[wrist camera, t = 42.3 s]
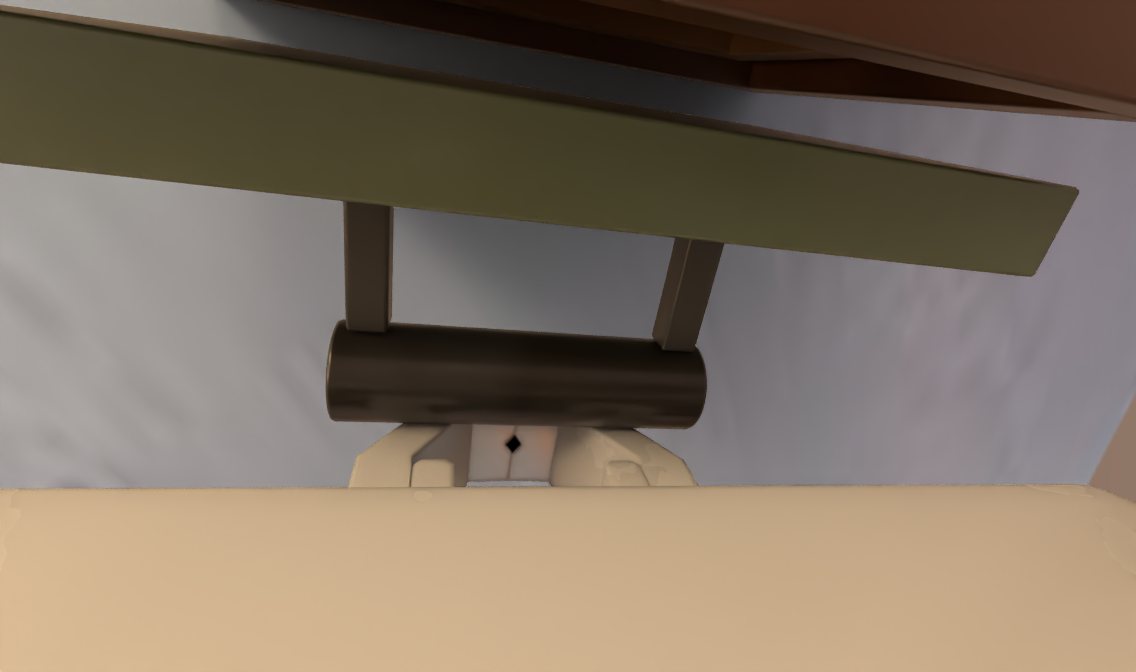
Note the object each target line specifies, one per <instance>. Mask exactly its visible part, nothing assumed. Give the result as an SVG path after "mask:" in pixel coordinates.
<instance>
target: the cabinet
mask: <svg viewBox="0 0 1136 672" xmlns="http://www.w3.org/2000/svg"><path fill="white" fill-rule="evenodd" d="M261 1H266V2H272V3H277V4H282V5H288V6H293V7H299V8H304V9H309V10H315V11H320V12H326V13H331V14H336V15H342V16H347V17H353V18H358V19H364V20H369V21H374V22H380V23H385V24H391V25H396V26H401V27H407V28H412V29H418V30H423V31H428V32H434V33H439V34H445V35H450V36H455V37H461V38H466V39H472V40H477V41H482V42H488V43H493V44H499V45H504V46H509V47H515V48H520V49H526V50H531V51H537V52H542V53H547V54H553V55H558V56H564V57H569V58H574V59H580V60H585V61H591V62H596V63H601V64H607V65H612V66H618V67H623V68H628V69H634V70H639V71H645V72H650V73H655V74H661V75H666V76H672V77H677V78H682V79H688V80H693V81H699V82H704V83H709V84H715V85H720V86H726V87H731V88H737V89H742V90H747V91H753V92H758V93H770V94H784V95H797V96H810V97H823V98H835V99H848V100H861V101H874V102H886V103H899V104H912V105H925V106H938V107H950V108H963V109H976V110H989V111H1001V112H1014V113H1027V114H1040V115H1052V116H1065V117H1078V118H1091V119H1104V120H1116V121H1129V122H1136V0H580V1H584V2H589V3H594V4H599V5H603V6H608V7H613V8H618V9H622V10H627V11H632V12H637V13H641V14H646V15H651V16H655V17H660V18H665V19H670V20H674V21H679V22H684V23H689V24H693V25H698V26H703V27H708V28H712V29H717V30H722V31H727V32H731V33H736V34H741V35H746V36H750V37H755V38H760V39H764V40H769V41H774V42H779V43H783V44H788V45H793V46H798V47H802V48H807V49H812V50H817V51H821V52H826V53H831V54H836V55H840V56H845V57H850V58H844V59H807V60H770V61H755V60H752V61H738V60H733V59H728V58H722V57H717V56H712V55H707V54H702V53H697V52H692V51H687V50H682V49H677V48H672V47H667V46H662V45H657V44H652V43H647V42H642V41H637V40H632V39H627V38H622V37H617V36H612V35H607V34H602V33H596V32H591V31H586V30H581V29H576V28H571V27H566V26H561V25H556V24H551V23H546V22H541V21H536V20H531V19H526V18H521V17H516V16H511V15H506V14H501V13H496V12H491V11H486V10H481V9H475V8H470V7H465V6H460V5H455V4H450V3H445V2H440V1H435V0H261Z"/></svg>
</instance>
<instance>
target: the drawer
mask: <svg viewBox="0 0 1136 672" xmlns="http://www.w3.org/2000/svg"><path fill="white" fill-rule="evenodd" d="M435 1H440V2H445V3H450V4H455V5H460V6H465V7H470V8H475V9H481V10H486V11H491V12H496V13H501V14H506V15H511V16H516V17H521V18H526V19H531V20H536V21H541V22H546V23H551V24H556V25H561V26H566V27H571V28H576V29H581V30H586V31H591V32H596V33H602V34H607V35H612V36H617V37H622V38H627V39H632V40H637V41H642V42H647V43H652V44H657V45H662V46H667V47H672V48H677V49H682V50H687V51H692V52H697V53H702V54H707V55H712V56H717V57H722V58H728V59H733V60H738V61H752V60H755V61H770V60H807V59H844V58H850V57H845V56H840V55H836V54H831V53H826V52H821V51H817V50H812V49H807V48H802V47H798V46H793V45H788V44H783V43H779V42H774V41H769V40H764V39H760V38H755V37H750V36H746V35H741V34H736V33H731V32H727V31H722V30H717V29H712V28H708V27H703V26H698V25H693V24H689V23H684V22H679V21H674V20H670V19H665V18H660V17H655V16H651V15H646V14H641V13H637V12H632V11H627V10H622V9H618V8H613V7H608V6H603V5H599V4H594V3H589V2H584V1H580V0H435ZM0 163H5V164H14V165H23V166H32V167H41V168H50V169H59V170H68V171H77V172H86V173H95V174H104V175H113V176H122V177H131V178H140V179H149V180H159V181H168V182H177V183H186V184H195V185H204V186H213V187H222V188H231V189H240V190H249V191H258V192H267V193H276V194H285V195H294V196H303V197H312V198H321V199H330V200H339V201H343V207H344V258H345V309H346V319H343V320H340V321H338V322H337V324H336V326H335V328H334V331H333V334H332V337H331V341H330V346H329V352H328V359H327V369H326V403H327V410H328V413H329V416H330V418H331V419H332V420H334V421H342V422H386V423H431V424H475V425H519V426H563V427H607V428H651V429H688V428H690V427H692V426H693V425H695V424H696V422H697V421H698V419H699V418H700V416H701V414H702V411H703V408H704V404H705V399H706V390H707V378H706V369H705V364H704V360H703V357H702V355H701V353H700V351H699V349H698V348H697V347H696V346H695V345H696V342H697V338H698V335H699V331H700V327H701V324H702V320H703V317H704V313H705V310H706V306H707V303H708V299H709V296H710V292H711V289H712V285H713V282H714V278H715V275H716V271H717V268H718V264H719V261H720V257H721V253H722V250H723V246H724V243H727V244H736V245H745V246H754V247H763V248H772V249H781V250H790V251H799V252H808V253H817V254H826V255H835V256H844V257H853V258H862V259H871V260H880V261H889V262H898V263H907V264H916V265H925V266H934V267H943V268H952V269H961V270H970V271H979V272H988V273H997V274H1006V275H1015V276H1024V277H1031V276H1033V275H1034V274H1035V273H1036V271H1037V269H1038V267H1039V266H1040V264H1041V262H1042V260H1043V258H1044V256H1045V254H1046V253H1047V251H1048V249H1049V247H1050V245H1051V243H1052V242H1053V240H1054V238H1055V236H1056V234H1057V232H1058V231H1059V229H1060V227H1061V225H1062V223H1063V221H1064V220H1065V218H1066V216H1067V214H1068V212H1069V210H1070V209H1071V207H1072V205H1073V203H1074V201H1075V199H1076V198H1077V196H1078V194H1079V190H1078V189H1077V188H1076V187H1072V186H1067V185H1061V184H1056V183H1051V182H1046V181H1040V180H1035V179H1030V178H1025V177H1020V176H1014V175H1009V174H1004V173H999V172H993V171H988V170H983V169H978V168H973V167H967V166H962V165H957V164H952V163H946V162H941V161H936V160H931V159H926V158H920V157H915V156H910V155H905V154H899V153H894V152H889V151H884V150H879V149H873V148H868V147H863V146H858V145H852V144H847V143H842V142H837V141H832V140H826V139H821V138H816V137H811V136H805V135H800V134H795V133H790V132H785V131H779V130H774V129H769V128H764V127H759V126H753V125H748V124H742V123H736V122H731V121H725V120H719V119H713V118H707V117H701V116H695V115H689V114H683V113H677V112H671V111H665V110H659V109H654V108H648V107H642V106H636V105H630V104H624V103H618V102H612V101H606V100H600V99H594V98H588V97H582V96H577V95H571V94H565V93H559V92H553V91H547V90H541V89H535V88H529V87H523V86H517V85H511V84H505V83H500V82H494V81H488V80H482V79H476V78H470V77H464V76H458V75H452V74H446V73H440V72H434V71H428V70H423V69H417V68H411V67H405V66H399V65H393V64H387V63H381V62H375V61H369V60H363V59H357V58H351V57H346V56H340V55H334V54H328V53H322V52H316V51H310V50H304V49H298V48H292V47H286V46H280V45H274V44H269V43H263V42H257V41H251V40H245V39H239V38H233V37H226V36H219V35H212V34H205V33H198V32H190V31H183V30H176V29H169V28H162V27H155V26H148V25H140V24H133V23H126V22H119V21H112V20H105V19H98V18H90V17H83V16H76V15H69V14H62V13H55V12H48V11H40V10H33V9H26V8H19V7H12V6H5V5H0ZM394 207H402V208H411V209H420V210H429V211H438V212H447V213H456V214H465V215H474V216H483V217H492V218H501V219H510V220H519V221H528V222H537V223H546V224H555V225H564V226H573V227H582V228H591V229H600V230H609V231H618V232H627V233H636V234H646V235H655V236H664V237H673V238H675V242H674V246H673V250H672V255H671V259H670V263H669V267H668V271H667V275H666V279H665V283H664V287H663V291H662V296H661V300H660V304H659V308H658V312H657V316H656V320H655V324H654V328H653V333H652V337H653V338H654V339H645V338H629V337H613V336H597V335H582V334H566V333H550V332H534V331H519V330H503V329H487V328H472V327H456V326H440V325H424V324H409V323H393V322H390V321H391V317H392V275H393V224H394Z"/></svg>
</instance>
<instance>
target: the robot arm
mask: <svg viewBox="0 0 1136 672" xmlns="http://www.w3.org/2000/svg"><path fill="white" fill-rule="evenodd" d="M477 481H544V482H549V484H550V485H551V486H549V487H465V486H466V485H467V482H477ZM0 672H1136V502H1133V501H1131V500H1129V499H1126V498H1124V497H1121V496H1119V495H1116V494H1114V493H1111V492H1109V491H1106V490H1103V489H1100V488H1097V487H1093V486H1088V485H1080V484H1038V485H779V486H698V484H697V482H696V481H695V479H694V477H693V475H692V474H691V472H690V470H689V468H688V467H687V465H686V463H685V461H684V460H683V459H681V458H680V457H678V456H677V455H675V454H673V453H672V452H670V451H669V450H667V449H665V448H664V447H662V446H661V445H659V444H657V443H656V442H654V441H653V440H651V439H649V438H648V437H646V436H645V435H643V434H641V433H640V432H638V431H637V430H635V429H633V428H607V427H563V426H519V425H475V424H431V423H403V424H401V425H400V426H398V427H397V428H396V429H394V430H393V431H392V432H390V433H389V434H387V435H386V436H385V437H383V438H382V439H380V440H379V441H378V442H376V443H375V444H374V445H372V446H371V447H369V448H368V449H367V450H365V451H364V452H362V453H361V454H360V455H358V456H357V457H356V460H355V464H354V468H353V471H352V475H351V479H350V482H349V486H348V487H298V488H80V489H0Z"/></svg>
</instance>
